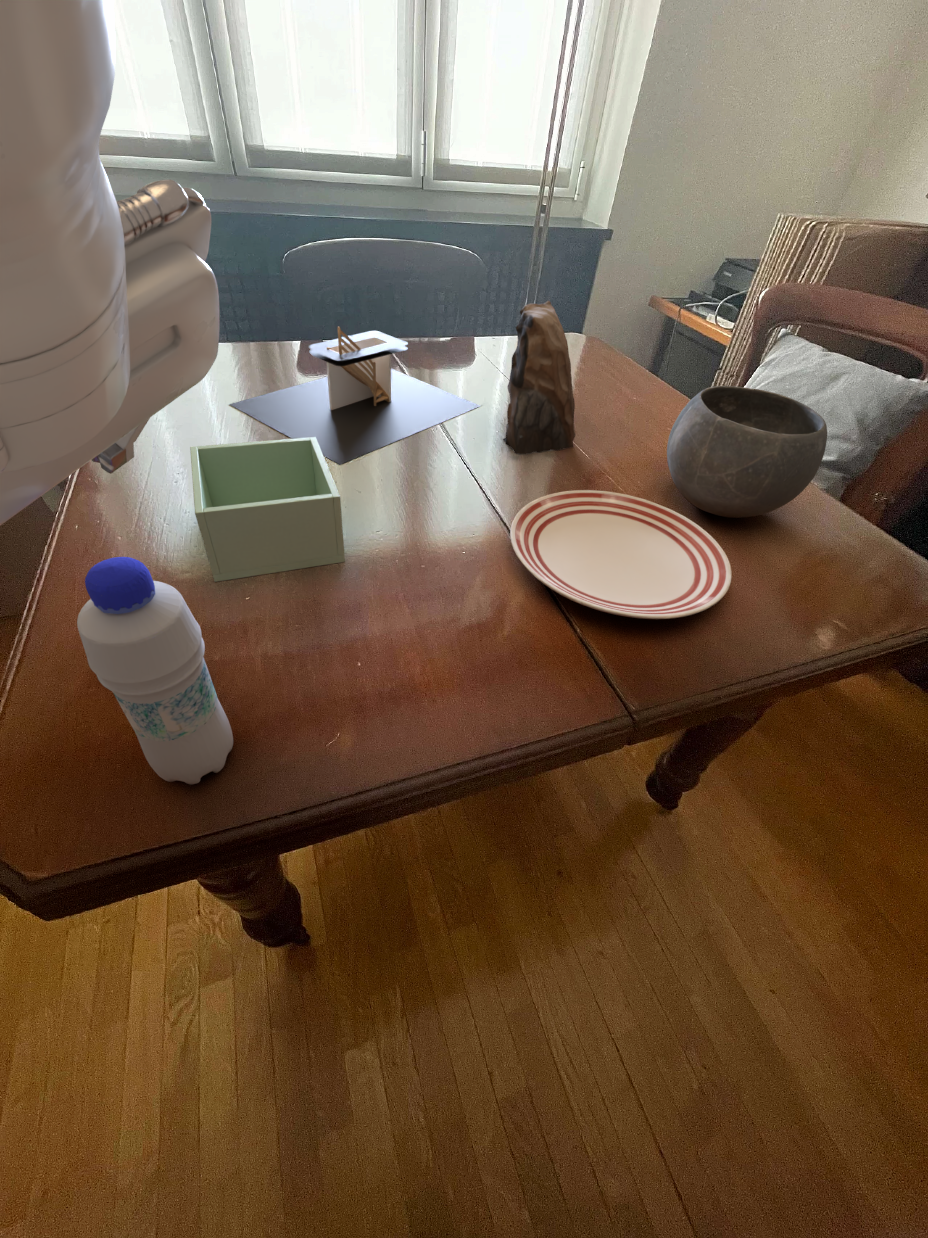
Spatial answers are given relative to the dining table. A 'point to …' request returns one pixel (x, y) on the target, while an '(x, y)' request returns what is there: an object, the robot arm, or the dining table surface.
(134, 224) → the robot arm
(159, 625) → the bottle
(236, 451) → the open storage bin
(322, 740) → the dining table surface
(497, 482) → the dining table surface
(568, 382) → the brown carved statue
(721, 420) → the bowl
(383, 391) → the architectural model
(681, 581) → the dinner plate
